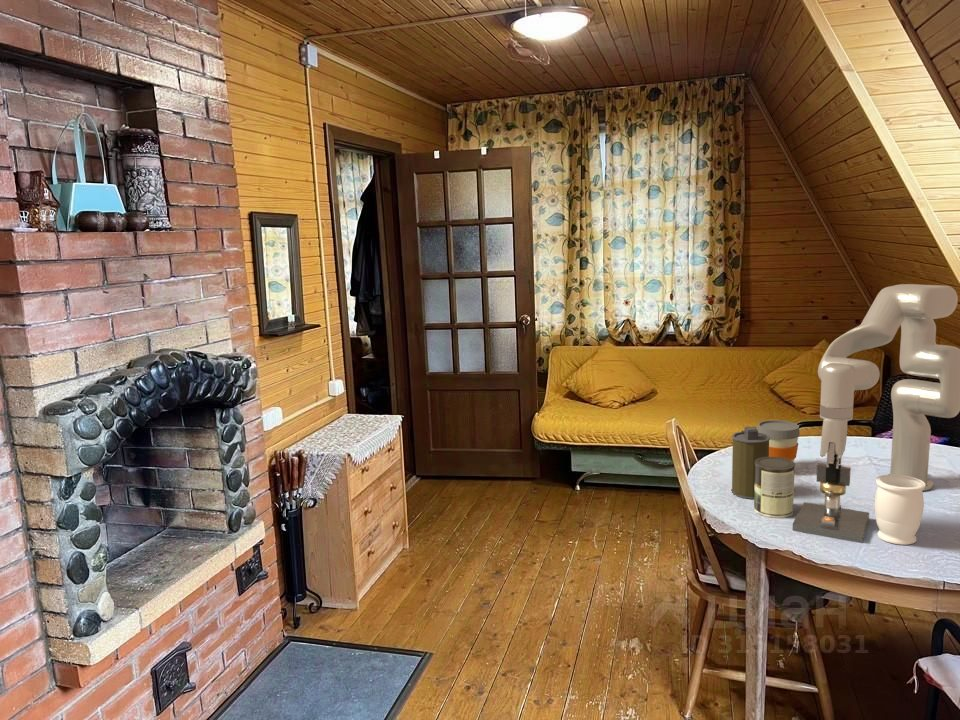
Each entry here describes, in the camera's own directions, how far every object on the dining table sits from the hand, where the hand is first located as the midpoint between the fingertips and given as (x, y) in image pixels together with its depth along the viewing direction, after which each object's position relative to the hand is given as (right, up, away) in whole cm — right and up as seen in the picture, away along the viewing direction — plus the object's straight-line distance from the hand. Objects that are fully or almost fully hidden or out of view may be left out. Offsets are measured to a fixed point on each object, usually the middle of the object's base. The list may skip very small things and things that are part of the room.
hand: (833, 480), depth 187 cm
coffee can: (-10, -11, +13) cm, 20 cm away
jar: (+12, -13, -7) cm, 20 cm away
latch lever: (0, -3, +1) cm, 3 cm away
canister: (-12, -8, +27) cm, 31 cm away
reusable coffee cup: (+4, -4, +44) cm, 44 cm away
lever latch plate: (+1, -12, +2) cm, 12 cm away
